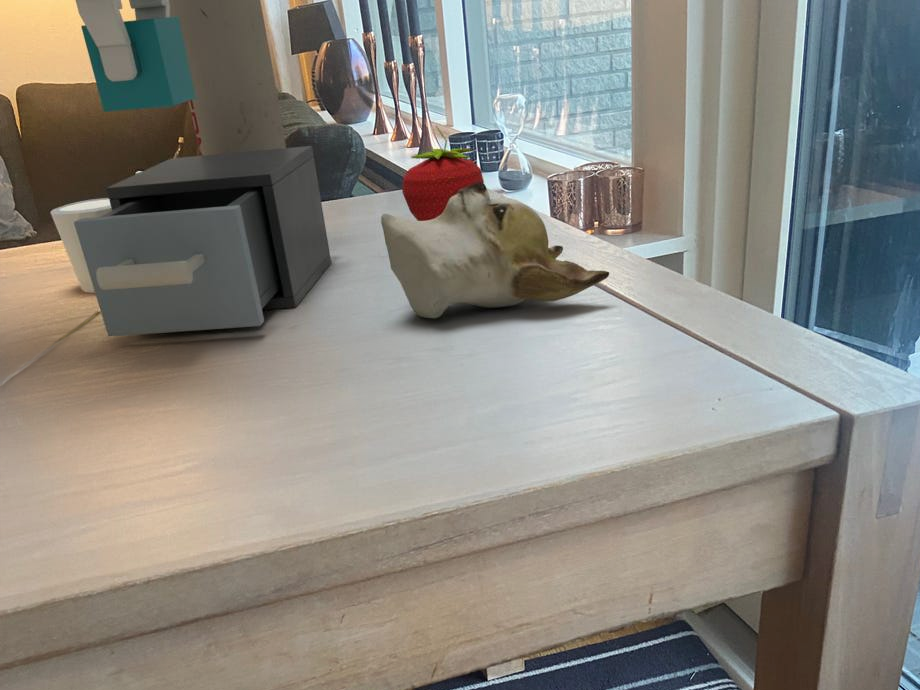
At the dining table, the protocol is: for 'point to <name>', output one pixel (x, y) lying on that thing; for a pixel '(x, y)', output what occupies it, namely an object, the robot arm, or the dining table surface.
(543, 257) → the ceramic sculpture
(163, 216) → the grey drawer
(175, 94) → the teal matte cube
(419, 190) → the strawberry
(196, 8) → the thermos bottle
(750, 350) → the dining table surface
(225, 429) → the dining table surface
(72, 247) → the white tapered cup
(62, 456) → the dining table surface
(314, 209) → the drawer cabinet
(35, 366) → the dining table surface
